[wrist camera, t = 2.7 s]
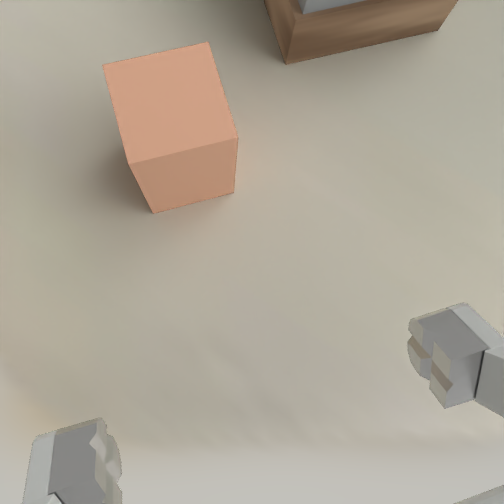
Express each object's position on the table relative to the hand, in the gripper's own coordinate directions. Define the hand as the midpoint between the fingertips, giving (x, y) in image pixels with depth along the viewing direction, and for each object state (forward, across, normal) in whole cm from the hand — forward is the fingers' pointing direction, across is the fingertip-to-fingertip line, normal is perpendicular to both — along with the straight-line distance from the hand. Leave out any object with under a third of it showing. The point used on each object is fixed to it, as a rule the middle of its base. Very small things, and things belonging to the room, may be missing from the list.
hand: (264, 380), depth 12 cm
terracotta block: (+19, 0, +2) cm, 19 cm away
